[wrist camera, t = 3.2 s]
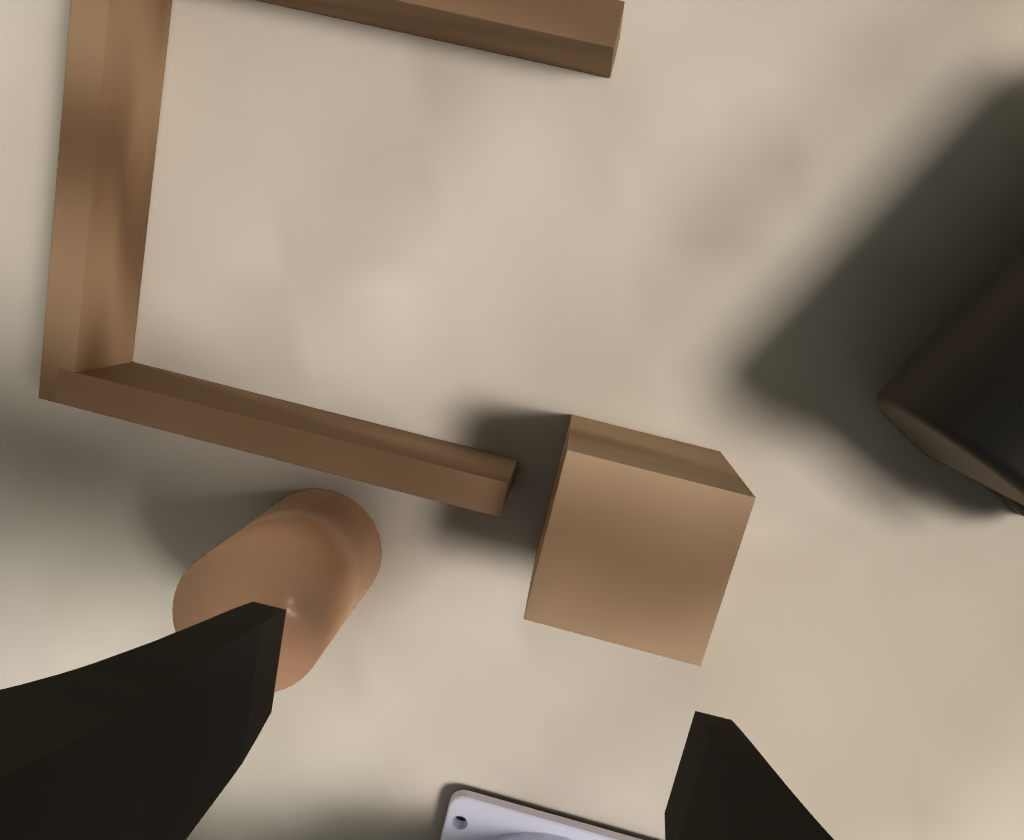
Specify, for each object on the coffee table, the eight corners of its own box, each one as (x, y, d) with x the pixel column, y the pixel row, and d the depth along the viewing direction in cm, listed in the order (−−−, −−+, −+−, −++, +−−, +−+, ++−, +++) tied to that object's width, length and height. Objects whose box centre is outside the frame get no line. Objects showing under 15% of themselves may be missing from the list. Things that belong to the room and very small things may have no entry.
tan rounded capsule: (369, 618, 23) (310, 710, 18) (253, 587, 23) (164, 670, 18) (392, 506, 22) (336, 570, 17) (271, 475, 22) (182, 529, 17)
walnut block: (677, 587, 22) (700, 666, 17) (536, 550, 22) (523, 619, 17) (719, 451, 21) (755, 497, 16) (571, 413, 21) (567, 450, 16)
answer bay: (510, 490, 21) (500, 517, 19) (99, 385, 22) (38, 398, 20) (619, 38, 19) (624, 1, 16) (144, -65, 19) (80, -115, 17)
